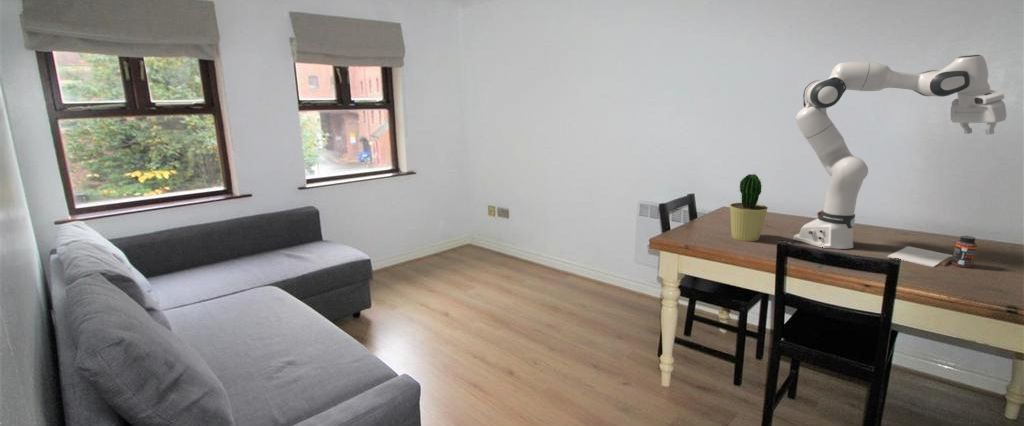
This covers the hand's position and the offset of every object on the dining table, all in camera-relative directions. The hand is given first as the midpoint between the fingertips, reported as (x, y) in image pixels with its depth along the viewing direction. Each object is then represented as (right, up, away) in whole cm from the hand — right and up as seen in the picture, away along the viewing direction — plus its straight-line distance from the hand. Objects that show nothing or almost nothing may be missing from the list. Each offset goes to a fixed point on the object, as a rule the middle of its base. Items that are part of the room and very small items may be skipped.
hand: (978, 133), depth 183 cm
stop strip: (-10, -49, +3) cm, 50 cm away
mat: (-14, -48, +10) cm, 51 cm away
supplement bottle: (-7, -50, -1) cm, 51 cm away
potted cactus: (-71, -42, +37) cm, 90 cm away
